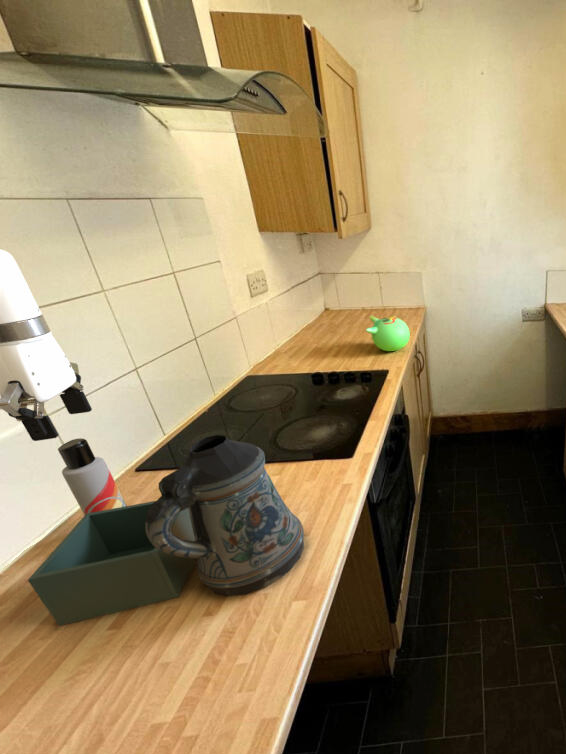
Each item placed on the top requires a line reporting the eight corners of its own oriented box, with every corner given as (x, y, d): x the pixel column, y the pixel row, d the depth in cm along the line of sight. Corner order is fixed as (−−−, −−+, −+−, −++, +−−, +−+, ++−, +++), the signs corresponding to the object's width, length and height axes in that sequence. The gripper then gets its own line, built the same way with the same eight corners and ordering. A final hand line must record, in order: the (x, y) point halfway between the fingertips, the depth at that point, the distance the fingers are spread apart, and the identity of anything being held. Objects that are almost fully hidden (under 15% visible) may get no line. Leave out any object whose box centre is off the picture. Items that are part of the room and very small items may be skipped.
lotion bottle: (127, 534, 81) (83, 446, 73) (90, 542, 79) (40, 453, 71) (138, 515, 86) (98, 431, 78) (104, 523, 84) (59, 437, 76)
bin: (58, 626, 63) (27, 579, 59) (109, 555, 76) (86, 513, 72) (178, 597, 68) (157, 552, 64) (207, 534, 80) (191, 494, 76)
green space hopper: (411, 354, 174) (407, 320, 168) (369, 358, 170) (364, 323, 165) (411, 341, 190) (407, 310, 184) (372, 344, 186) (367, 312, 181)
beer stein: (317, 521, 83) (288, 411, 73) (283, 607, 66) (238, 478, 56) (229, 531, 81) (187, 419, 71) (169, 622, 64) (101, 490, 54)
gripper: (22, 319, 72) (68, 407, 79) (-67, 351, 57) (-1, 455, 64) (76, 315, 74) (116, 400, 81) (3, 344, 59) (60, 446, 66)
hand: (64, 424), depth 73 cm, fingers open, 9 cm apart
